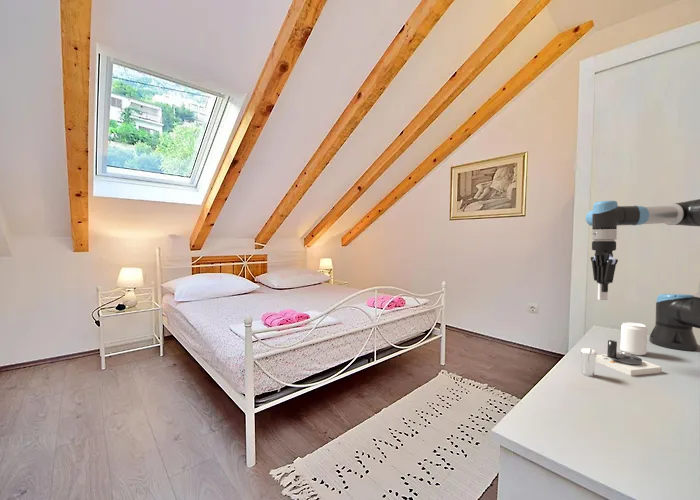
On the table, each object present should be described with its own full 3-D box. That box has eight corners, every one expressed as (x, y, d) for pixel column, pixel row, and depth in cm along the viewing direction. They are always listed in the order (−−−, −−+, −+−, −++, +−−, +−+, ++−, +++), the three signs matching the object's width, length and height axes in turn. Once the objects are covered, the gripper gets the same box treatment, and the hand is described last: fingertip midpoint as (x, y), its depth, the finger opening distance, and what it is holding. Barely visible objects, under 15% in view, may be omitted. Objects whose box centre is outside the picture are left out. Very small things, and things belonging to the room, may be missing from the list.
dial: (625, 355, 123) (626, 337, 123) (648, 364, 114) (650, 345, 114) (598, 355, 122) (598, 337, 122) (619, 365, 113) (620, 345, 113)
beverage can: (635, 349, 136) (636, 321, 136) (651, 356, 128) (653, 327, 127) (615, 348, 137) (616, 321, 136) (629, 355, 129) (631, 326, 128)
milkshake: (581, 376, 109) (582, 348, 109) (578, 370, 114) (580, 343, 114) (598, 379, 107) (599, 350, 107) (594, 373, 112) (595, 345, 111)
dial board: (620, 357, 127) (620, 352, 127) (661, 372, 113) (661, 366, 113) (592, 360, 124) (592, 354, 124) (630, 375, 110) (630, 369, 110)
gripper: (583, 240, 132) (582, 296, 133) (604, 240, 119) (602, 303, 120) (603, 240, 131) (602, 296, 132) (626, 240, 118) (624, 303, 119)
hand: (602, 299), depth 126 cm, fingers closed
